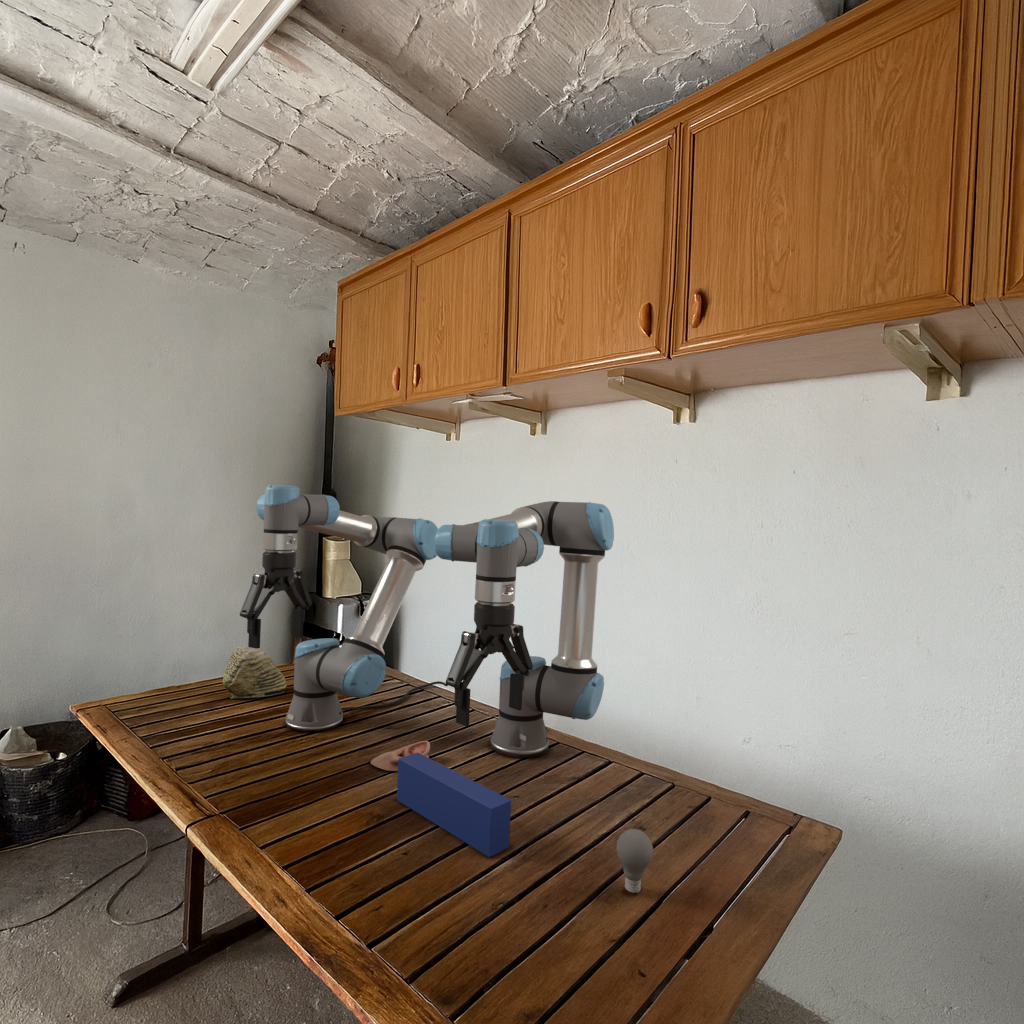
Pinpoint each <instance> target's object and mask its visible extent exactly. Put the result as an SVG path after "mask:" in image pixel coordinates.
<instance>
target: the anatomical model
mask: <svg viewBox="0 0 1024 1024" xmlns="http://www.w3.org/2000/svg"><path fill="white" fill-rule="evenodd" d="M430 751H431V743H430V742H429V741H428V740H423V741H417V742H415V743H412V744H408V745H405V746H403V747H399V748H398V749H394V750H391V751H387V752H384V753H381V754H380V755H377V756H376V757H374V758H373V759H371V761H370V764H371V765H372V766H373V767H375V768H378V769H380V770H383V771H387V772H398V760H399V758H402V757H405V756H408V755H412V754H415V753H420V754H422V755H424V756H426V757H428V758H430V757H429V755H428V754H429V753H430Z"/></svg>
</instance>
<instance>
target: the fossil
mask: <svg viewBox="0 0 1024 1024" xmlns="http://www.w3.org/2000/svg"><path fill="white" fill-rule="evenodd" d="M222 676H223V677H222V685H223V687H224V688H225V690H226V691H228V693H229V698H230V699H250V698H264V697H271V696H275V695H281V694H284V693H285V691H286V689H287V687H288V686H287V680H286V678H285V676H284V674H283V673H282V672H281V669H279V668H278V667H277V665H276V663H275V662H274V660H273V659H272V658H271V657H270V656H269V655H268V654H267V653H266V652H265V650H264V649H263V648H261V647H260V648H258V649H256V648H251V647H248V646H246V647H245V646H238V647H237V648H236V649H235V650H233V651H232V653H231V656H230V657H229V659H228V660H227V663H226V666H225V668H224V671H223V675H222Z"/></svg>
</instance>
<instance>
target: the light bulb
mask: <svg viewBox="0 0 1024 1024" xmlns="http://www.w3.org/2000/svg"><path fill="white" fill-rule="evenodd" d="M615 849H616V854H617V857H618V859H619V861H620V863H621V865H622V867H623V873H624V874H623V875H624V876H625V878H624V888H625V890H627V891H628V892H630V893H634V894H635V893H639V892H640V891H641V889H642V887H641V886H642V879H643V877H644V875H645V871H646V868H647V867H648V866H649V864H650V863H651V861H652V859H653V855H654V847H653V843H652V841H651V838H649V836H648V835H647V834H646V833H645V832H643V831H642V830H641V829H636V828H629V829H627V830H625V831H623V832H622V833H621V834H620V835H619V837H618V839H617V841H616V847H615Z"/></svg>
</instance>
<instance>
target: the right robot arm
mask: <svg viewBox="0 0 1024 1024" xmlns="http://www.w3.org/2000/svg"><path fill="white" fill-rule="evenodd" d="M614 541H615V528H614V521H613V516H612V513H611V511H610V509H609V507H607V505H605V504H603V503H597V502H591V501H590V502H578V501H558V500H550V501H542V502H538V503H537V502H536V503H532V504H529V505H525V506H520V507H517V508H516V509H514V510H513V511H512V512H511V513H508V514H505V515H504V514H503V515H501V516H497V517H496V516H495V517H492V518H489V519H487V518H485V519H481V520H480V521H475V522H472V523H466V524H456V523H451V524H442V525H440V527H438V530H437V532H436V535H435V539H434V548H435V552H436V554H437V556H436V557H438V558H439V559H441V560H445V561H451V562H465V563H476V566H475V567H476V568H475V570H476V571H475V572H476V573H475V584H474V600H475V601H476V602H475V603H474V606H473V622H474V624H475V631H474V632H470V631H466V630H464V631H462V633H461V636H460V643H459V646H458V649H457V652H456V654H455V656H454V659H453V662H452V664H451V666H450V669H449V671H448V674H447V677H446V679H445V683H446V685H448V686H449V687H450V688H453V689H454V699H453V700H454V701H453V704H454V706H455V707H456V709H455V723H457V724H459V725H461V726H463V727H469V726H470V711H471V710H470V708H471V688H469V685H470V683H471V681H472V680H473V678H474V677H475V675H476V673H477V672H478V670H479V668H480V666H481V664H482V663H483V662H484V659H487V658H488V656H489V655H494V654H496V653H501V654H502V656H503V657H504V659H505V660H504V662H503V663H502V664H501V667H500V674H499V675H500V676H499V696H498V697H499V698H498V699H499V700H498V717H497V720H496V723H495V726H494V730H493V732H492V734H491V736H490V748H491V750H493V751H494V752H495V753H496V754H499V755H502V756H506V757H510V758H516V759H528V758H529V759H530V758H536V757H540V756H542V755H544V754H546V753H547V752H549V750H550V749H549V748H550V740H549V736H548V732H547V730H548V729H547V728H548V727H547V726H546V724H545V721H544V713H546V714H549V715H556V716H560V717H565V718H571V719H572V720H576V719H577V720H583V721H587V720H590V719H592V718H593V717H594V716H595V715H596V713H597V711H598V709H599V707H600V705H601V701H602V697H603V694H604V687H605V681H604V680H605V678H604V675H603V674H602V673H600V672H598V664H597V662H596V661H595V660H594V659H593V647H594V645H593V644H594V631H595V619H596V618H595V617H596V615H595V614H596V601H597V586H598V574H599V573H598V572H599V563H600V562H601V561H602V560H603V559H604V558H606V551H610V550H612V548H613V545H614ZM545 546H553V547H559V551H558V554H559V555H560V557H561V558H562V559H563V561H564V562H563V563H564V566H563V577H562V579H563V580H562V592H561V605H560V619H559V620H560V621H559V633H558V649H557V655H556V656H555V657H553V658H552V659H551V663H550V665H547V660H546V659H545V657H542V656H535V655H530V652H529V649H528V646H527V643H526V640H525V637H524V635H525V633H524V626H523V625H521V624H516V623H515V611H516V610H515V609H516V608H515V607H516V606H515V604H513V603H514V602H515V600H516V581H517V568H520V567H521V568H523V567H524V568H525V567H528V566H531V565H533V564H536V563H537V562H538V561H539V560H540V559H541V558H542V556H543V555H544V550H545Z"/></svg>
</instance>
